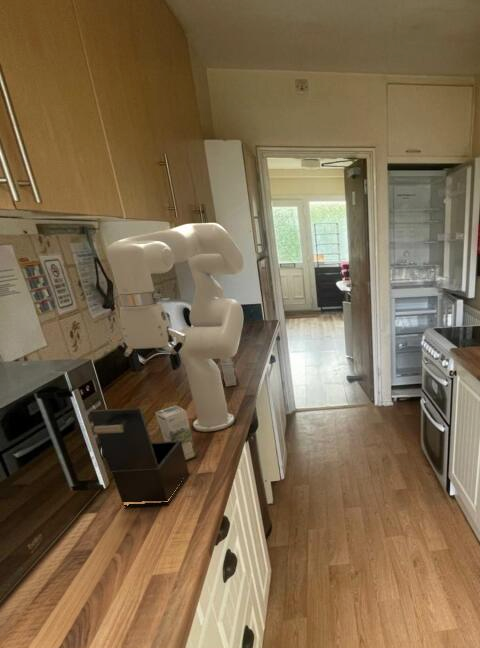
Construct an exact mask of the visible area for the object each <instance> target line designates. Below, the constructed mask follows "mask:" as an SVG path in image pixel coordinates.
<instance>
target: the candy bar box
mask: <svg viewBox="0 0 480 648" xmlns="http://www.w3.org/2000/svg"><path fill="white" fill-rule="evenodd" d="M219 365H220V369H221V373H222V374H221V375H222V378H223V383H224V386H225V388H228V387H229V388H230V387H235V386H238V380H237V375H236V370H235V364H234V359H233V357H231V358H224V359H219Z"/></svg>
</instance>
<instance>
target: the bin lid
mask: <svg viewBox="0 0 480 648" xmlns="http://www.w3.org/2000/svg"><path fill="white" fill-rule="evenodd" d="M88 413H89V415H90V418H91V422H92V424H93V433H94V434H95V435H96V436H97V438H98V440H99V443H100V446H101V449H102V452H103V455H104V457H105V461H106V463H107V466H108V469H109V471H110V472H113V471H122V470H140V469H157V468H158V467H159V466H158V463H157V460H156V456H155V453H154V449H153V446H152V443H153V442H152V439H151V437H150V433H149V430H148V426H147V423H146V419H145V417H144V413H143V410H142V407H131V408H111V409H110V408H109V409H93V410H90V411H89V412H88Z"/></svg>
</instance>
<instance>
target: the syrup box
mask: <svg viewBox="0 0 480 648" xmlns="http://www.w3.org/2000/svg"><path fill="white" fill-rule="evenodd" d="M155 417H156V421H157V424H158V428H159V432H160V436H161V439H162V442H173V441H181V444H182V448H183V452H184V456H185V460H186V461H189V460H191V459H193V458H195V457H197V454H196V453H197V452H196V448H195V444H194V439H193V435H192V431H191V430H192V429H191V427H190V422H189V418H188V413H187V410H185V409H184V408H182V407H181V406H178V405H172V406H169V407H167V408H164V409H161V410H158V411H155Z"/></svg>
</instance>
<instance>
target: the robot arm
mask: <svg viewBox="0 0 480 648" xmlns="http://www.w3.org/2000/svg"><path fill="white" fill-rule="evenodd" d="M106 255H107V260H108V263H109V265H110V268H111V269H110V270H111V273H112V276H113V279H114V284H115V286H116V290H117V294H118V298H119V301H120V305H121V306H120V307H119V319H120V327H121V330H122V332H120V333H118V334H117V335H115V336H113V337H112V338H111V339H110V340H111V342H112V344H113V345H114V346H115V347H116V348H117V350H118V351H119V352H121V353H122V354H124V356H125V357H127V360H128V362H129V363H128V364H129V366H130V368H131V370H132V372H133V373H136V372H138V371H139V370H141V369H142V365H141V360H140V357H139V355H138V353H137V352H136V351H137V350H140V349H141V350H143V349H162V348H164V349H165V350H166V351H168V352H169V353H170V354H169V360H170V364H171V368H172V370H173V371H177V370H178V369H179V368H181V365H182V363H183V365H184V368H185V373H186V376H187V381H188V385H189V389H190V393H191V398H192V402H193V407H194V411H195V415H196V419H195V420H194V421H193V423H192V426H193V429H194V430H196V431H197V432H203V433H204V432H206V433H209V432H216V431H221V430H223V429H226V428H229V427H230V426H231V425H233V424H234V422H235V416H234V415H233V414H232V413H229V411H228V403H227V400H226V395H225V390H224V386H223V385H224V384H223V380H222V374H221V370H220V368H219V366H218V364H217V363H216V361H214V360H218V359H219V360H220V359H224V358H231V357H232V358H234V357H235V355H237V352H238V351H239V350H238V349H239V346H240V341H241V336H242V331H243V328H244V318H245V317H244V311H243V307H242V304H241V303H240V302H239V301H238V300H236V299H233V298H225V290H224V289H223V287H222V286H221V284H220V283H219V282H218V281H217V280H216V279H215V278H214V277H213V276H214V275H215V276H216V275H218V276H220V275H222V276H223V275H237V274H239V273H241V272H242V271H243V269H244V266H245V261H244V256H243V254H242V251H241V249H240V248H239V246H238V245H237V244H236V242H235V241H234V239H233V238H232V235H230V234H229V232H228V231H227V230H226V229H225V228H224V227H223V226H222V225H221V224H219V223H216V222H199V223H193V222H192V223H184V224H181V225H178V226H176V227H172V228H169V229H165V230H159V231H154V232H150V233H149V232H148V233H145V234H140V235H135V236H133V235H132V236H129V237H124V238H122V239H118V240H115V241H113V242H111V244H109V245H108V246H107V247H106ZM185 261H187V264H188V267H189V270H190V273H191V277H192V279H193V281H194V285H195V293H194V295H193V299H192V303H191V306H190V311H189V322H190V324H191V326H188V327H185V328H182V329H180V330H179V331H178V330H176V329H173V328H172V326H171V323H170V319H169V317H168V315H167V313H166V310H165V308H164V306H163V304H162V303H159V301H163V294H161V293H157V291H156V290H155V287H154V283H153V278H152V274H153V275H156V274H165V273H168V272H169V271H170V270H172V268H173V267H174V264H181V263H183V262H185ZM122 340H124V343H125V344H124V343H123V341H122ZM174 341H175V342H174Z"/></svg>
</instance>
